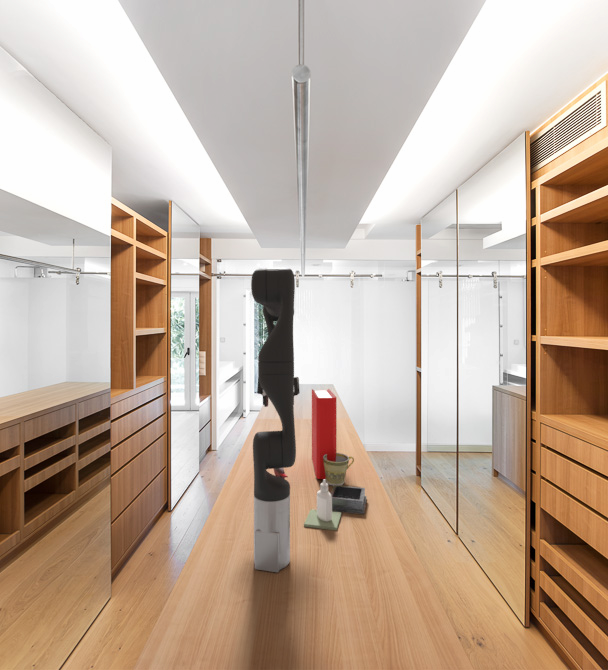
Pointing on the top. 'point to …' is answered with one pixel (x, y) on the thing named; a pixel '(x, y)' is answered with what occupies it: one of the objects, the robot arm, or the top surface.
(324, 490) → the eye dropper bottle
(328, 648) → the top surface
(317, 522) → the rubber mat
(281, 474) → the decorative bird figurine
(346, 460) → the ceramic cup
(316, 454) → the book
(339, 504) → the socket block
